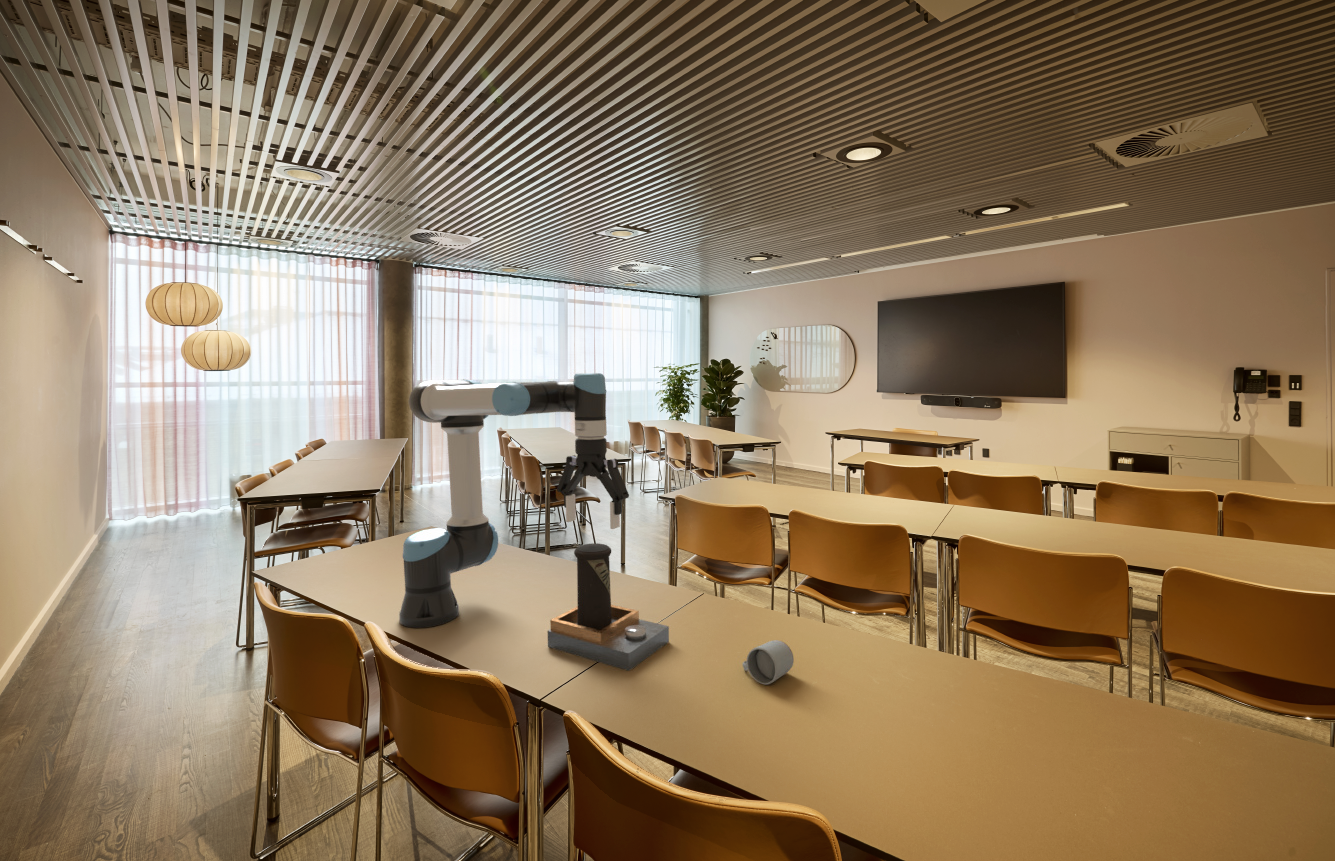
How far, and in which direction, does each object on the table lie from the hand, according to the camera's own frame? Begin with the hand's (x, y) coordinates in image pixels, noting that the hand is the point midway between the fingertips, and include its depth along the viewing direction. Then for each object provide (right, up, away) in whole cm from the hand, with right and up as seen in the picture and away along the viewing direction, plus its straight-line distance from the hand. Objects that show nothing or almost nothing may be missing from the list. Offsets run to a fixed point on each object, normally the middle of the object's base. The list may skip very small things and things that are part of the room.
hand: (592, 524), depth 148 cm
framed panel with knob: (+4, -29, 0) cm, 30 cm away
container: (0, -25, +2) cm, 26 cm away
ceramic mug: (+39, -31, -16) cm, 52 cm away
